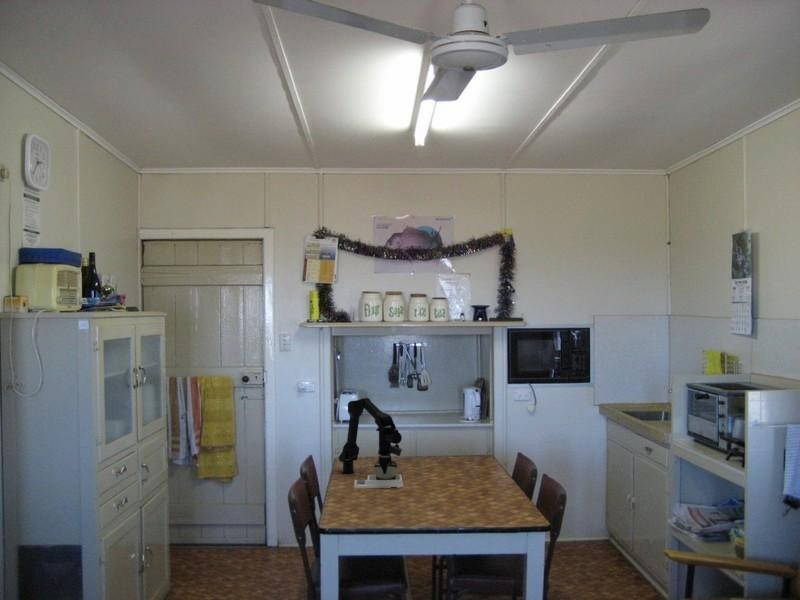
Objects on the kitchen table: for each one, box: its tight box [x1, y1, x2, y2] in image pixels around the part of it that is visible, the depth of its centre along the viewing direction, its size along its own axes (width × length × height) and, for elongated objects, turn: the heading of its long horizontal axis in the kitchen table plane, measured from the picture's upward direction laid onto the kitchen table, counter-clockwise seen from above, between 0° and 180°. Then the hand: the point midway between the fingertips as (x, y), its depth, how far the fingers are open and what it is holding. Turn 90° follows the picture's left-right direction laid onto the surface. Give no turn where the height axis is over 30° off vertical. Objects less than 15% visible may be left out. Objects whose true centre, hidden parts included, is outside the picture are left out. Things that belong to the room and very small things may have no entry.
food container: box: [373, 459, 399, 480], centre depth 321 cm, size 12×6×10 cm, turn 92°
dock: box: [353, 474, 404, 489], centre depth 320 cm, size 12×24×4 cm, turn 93°
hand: (384, 472), depth 321 cm, fingers closed on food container, 6 cm apart
